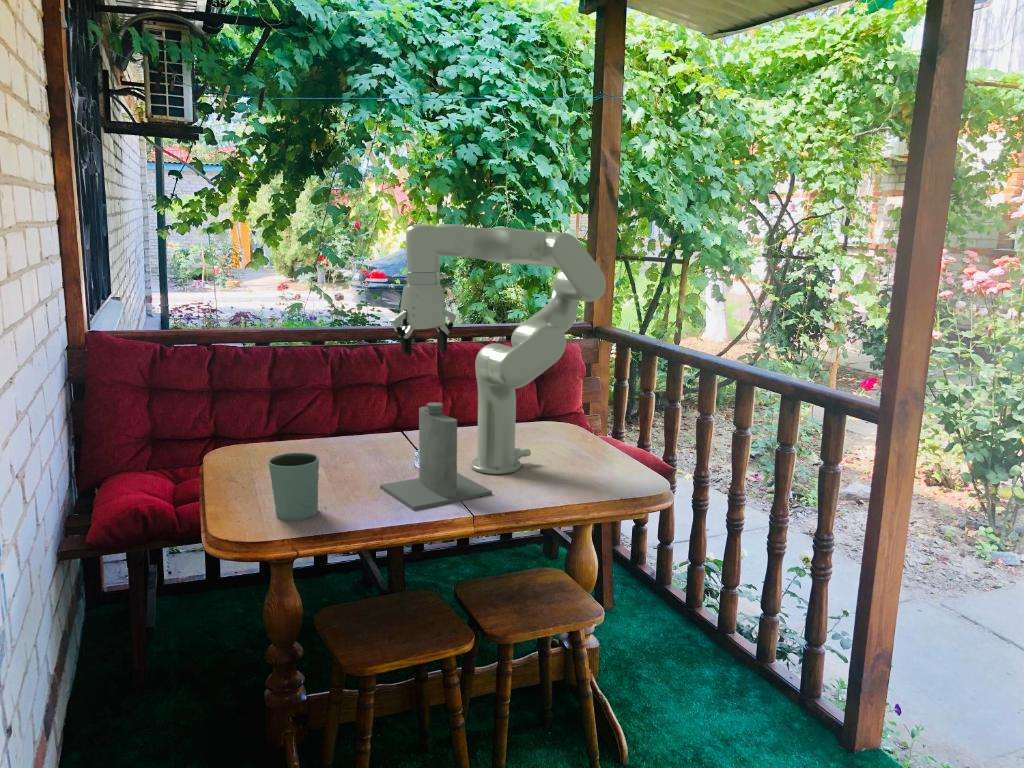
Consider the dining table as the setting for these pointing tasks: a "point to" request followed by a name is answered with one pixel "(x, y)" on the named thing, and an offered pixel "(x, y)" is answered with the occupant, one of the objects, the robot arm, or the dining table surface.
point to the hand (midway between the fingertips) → (424, 352)
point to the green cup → (295, 485)
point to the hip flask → (438, 450)
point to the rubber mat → (422, 497)
